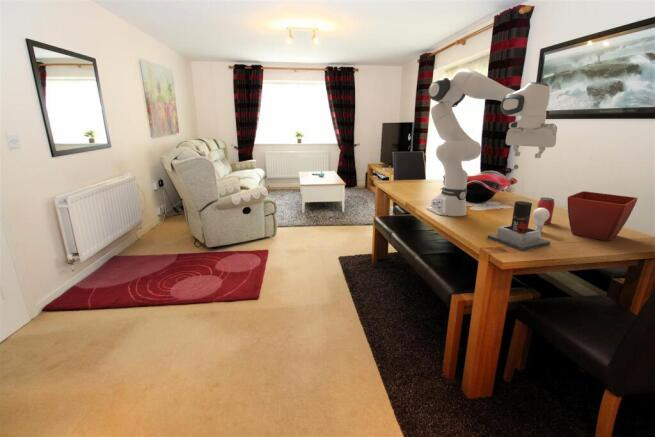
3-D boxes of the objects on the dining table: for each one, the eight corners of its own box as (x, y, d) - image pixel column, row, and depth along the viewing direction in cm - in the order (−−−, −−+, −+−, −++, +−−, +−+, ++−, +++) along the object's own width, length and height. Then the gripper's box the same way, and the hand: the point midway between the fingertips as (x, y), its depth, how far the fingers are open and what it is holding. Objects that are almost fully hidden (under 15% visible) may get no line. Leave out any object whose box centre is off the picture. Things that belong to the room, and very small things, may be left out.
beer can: (553, 224, 153) (558, 200, 149) (538, 224, 154) (542, 200, 151) (547, 220, 159) (551, 197, 156) (532, 220, 160) (536, 197, 157)
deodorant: (507, 238, 132) (513, 203, 127) (511, 234, 136) (517, 200, 132) (523, 241, 128) (529, 205, 123) (527, 237, 132) (533, 202, 128)
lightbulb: (548, 231, 143) (553, 208, 140) (542, 234, 140) (547, 210, 137) (533, 228, 148) (537, 205, 145) (527, 230, 145) (531, 207, 142)
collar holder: (487, 238, 136) (488, 226, 135) (513, 233, 142) (515, 221, 141) (521, 251, 122) (524, 237, 121) (549, 244, 128) (552, 231, 126)
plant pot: (559, 233, 141) (566, 196, 136) (575, 225, 152) (582, 190, 147) (614, 246, 126) (625, 204, 121) (628, 236, 137) (638, 197, 132)
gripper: (563, 123, 125) (556, 158, 129) (515, 123, 143) (511, 154, 147) (552, 123, 123) (546, 159, 127) (505, 123, 141) (501, 155, 145)
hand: (526, 157), depth 137 cm, fingers open, 8 cm apart
